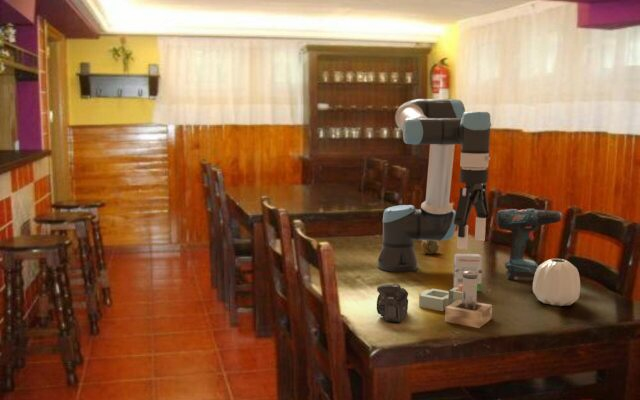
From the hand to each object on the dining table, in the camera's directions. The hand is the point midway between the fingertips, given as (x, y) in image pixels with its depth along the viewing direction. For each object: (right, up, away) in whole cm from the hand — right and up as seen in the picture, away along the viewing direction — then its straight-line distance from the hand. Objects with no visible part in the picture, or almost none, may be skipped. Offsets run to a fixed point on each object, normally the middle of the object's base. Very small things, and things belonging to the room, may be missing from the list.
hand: (471, 244), depth 178 cm
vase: (+31, -20, +20) cm, 42 cm away
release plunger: (0, -18, +12) cm, 21 cm away
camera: (-21, -21, +5) cm, 31 cm away
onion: (+4, -10, +89) cm, 89 cm away
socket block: (-4, -20, +15) cm, 25 cm away
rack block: (0, -22, +3) cm, 22 cm away
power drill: (+32, -16, +50) cm, 61 cm away
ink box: (+7, -18, +34) cm, 39 cm away
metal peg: (0, -22, +3) cm, 22 cm away
